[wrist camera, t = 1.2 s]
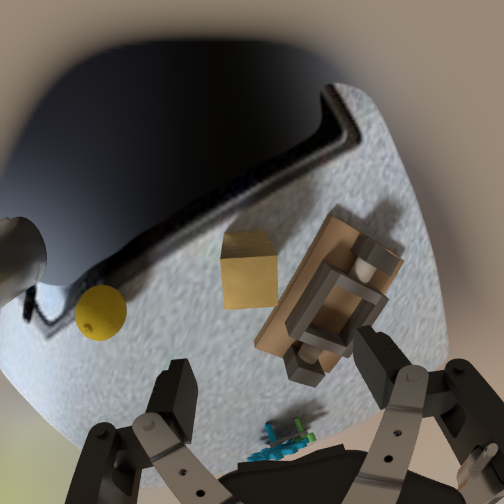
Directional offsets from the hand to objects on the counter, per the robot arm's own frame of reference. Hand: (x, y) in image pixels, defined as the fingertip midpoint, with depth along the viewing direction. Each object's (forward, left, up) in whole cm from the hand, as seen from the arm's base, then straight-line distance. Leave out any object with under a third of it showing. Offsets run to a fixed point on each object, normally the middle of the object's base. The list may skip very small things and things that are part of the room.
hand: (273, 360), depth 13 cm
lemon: (-12, -12, -19) cm, 25 cm away
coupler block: (-1, 0, -19) cm, 19 cm away
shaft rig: (+11, -1, -18) cm, 22 cm away
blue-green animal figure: (+18, -25, -19) cm, 36 cm away
